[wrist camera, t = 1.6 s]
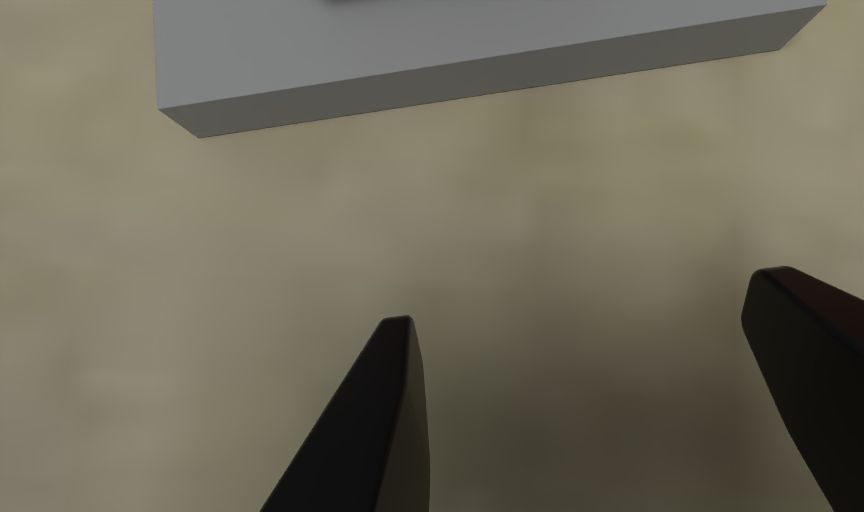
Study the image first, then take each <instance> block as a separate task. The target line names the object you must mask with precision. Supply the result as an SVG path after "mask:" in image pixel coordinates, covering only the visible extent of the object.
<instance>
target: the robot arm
mask: <svg viewBox="0 0 864 512" xmlns="http://www.w3.org/2000/svg"><path fill="white" fill-rule="evenodd" d="M741 322H742V327H743V331H744V333H745V336H746V338H747V340H748V343H749V345H750V347H751V349H752V352H753V354H754V356H755V359H756V361H757V363H758V365H759V368H760V370H761V372H762V375H763V377H764V379H765V381H766V384H767V386H768V388H769V390H770V393H771V395H772V397H773V400H774V402H775V404H776V406H777V409H778V411H779V413H780V415H781V418H782V420H783V422H784V424H785V426H786V428H787V430H788V432H789V434H790V436H791V438H792V439H793V441H794V443H795V445H796V447H797V449H798V450H799V452H800V454H801V455H802V457H803V459H804V461H805V462H806V464H807V466H808V467H809V469H810V471H811V473H812V474H813V476H814V478H815V480H816V481H817V483H818V485H819V486H820V488H821V490H822V492H823V493H824V495H825V497H826V499H827V500H828V502H829V504H830V505H831V507H832V509H833V511H834V512H864V300H862V299H860V298H858V297H856V296H853V295H851V294H849V293H847V292H845V291H843V290H840V289H838V288H836V287H834V286H832V285H830V284H827V283H825V282H823V281H821V280H819V279H817V278H814V277H812V276H810V275H808V274H806V273H804V272H801V271H799V270H797V269H795V268H792V267H789V266H780V267H772V268H764V269H759V270H757V271H755V272H754V273H753V274H752V276H751V279H750V282H749V286H748V290H747V294H746V298H745V302H744V306H743V310H742V315H741ZM429 497H430V453H429V439H428V426H427V412H426V398H425V385H424V371H423V362H422V356H421V352H420V348H419V343H418V339H417V334H416V330H415V326H414V322H413V319H412V318H411V317H410V316H408V315H404V316H397V317H389V318H385V319H383V320H382V321H381V322H380V323H379V325H378V326H377V328H376V329H375V331H374V333H373V334H372V336H371V337H370V339H369V340H368V342H367V344H366V345H365V347H364V348H363V350H362V351H361V353H360V355H359V356H358V358H357V359H356V361H355V362H354V364H353V366H352V367H351V369H350V370H349V372H348V373H347V375H346V377H345V378H344V380H343V381H342V383H341V384H340V386H339V388H338V389H337V391H336V392H335V394H334V395H333V397H332V399H331V400H330V402H329V403H328V405H327V406H326V408H325V410H324V411H323V413H322V414H321V416H320V417H319V419H318V421H317V422H316V424H315V425H314V427H313V428H312V430H311V432H310V433H309V435H308V436H307V438H306V439H305V441H304V443H303V444H302V446H301V447H300V449H299V450H298V452H297V454H296V455H295V457H294V458H293V460H292V461H291V463H290V465H289V466H288V468H287V469H286V471H285V472H284V474H283V476H282V477H281V479H280V480H279V482H278V483H277V485H276V487H275V488H274V490H273V491H272V493H271V494H270V496H269V498H268V499H267V501H266V502H265V504H264V505H263V507H262V509H261V510H260V512H429Z"/></svg>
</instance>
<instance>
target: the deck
mask: <svg viewBox="0 0 864 512" xmlns="http://www.w3.org/2000/svg"><path fill="white" fill-rule="evenodd" d="M152 1H153V22H154V43H155V64H156V84H157V105H158V110H160V111H161V112H162V113H164V114H165V115H167V116H168V117H169V118H171V119H172V120H174V121H175V122H176V123H178V124H179V125H181V126H182V127H183V128H185V129H186V130H188V131H189V132H190V133H192V134H193V135H195V136H196V137H197V138H203V137H209V136H216V135H222V134H229V133H235V132H242V131H248V130H255V129H262V128H268V127H275V126H281V125H288V124H294V123H301V122H308V121H314V120H321V119H327V118H334V117H340V116H347V115H353V114H360V113H367V112H373V111H380V110H386V109H393V108H399V107H406V106H413V105H419V104H426V103H432V102H439V101H445V100H452V99H458V98H465V97H472V96H478V95H485V94H491V93H498V92H504V91H511V90H518V89H524V88H531V87H537V86H544V85H550V84H557V83H563V82H570V81H577V80H583V79H590V78H596V77H603V76H609V75H616V74H623V73H629V72H636V71H642V70H649V69H655V68H662V67H669V66H675V65H682V64H688V63H695V62H701V61H708V60H714V59H721V58H728V57H734V56H741V55H747V54H754V53H760V52H767V51H774V50H780V49H781V48H782V47H783V46H784V45H785V44H786V43H787V42H788V41H789V40H790V39H791V38H792V37H793V36H795V35H796V34H797V33H798V32H799V31H800V30H801V29H802V28H803V27H804V26H805V25H806V24H807V23H808V22H809V21H810V20H811V19H812V18H813V17H815V16H816V15H817V14H818V13H819V12H820V11H821V10H822V9H823V8H824V7H825V6H826V5H827V1H826V0H152Z"/></svg>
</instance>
